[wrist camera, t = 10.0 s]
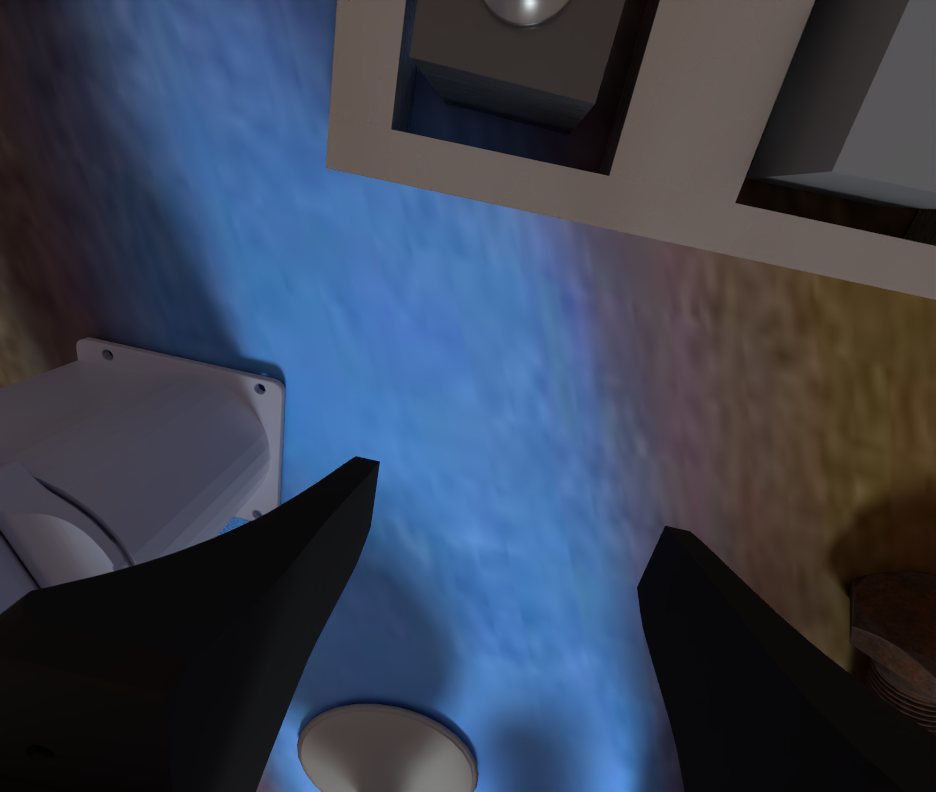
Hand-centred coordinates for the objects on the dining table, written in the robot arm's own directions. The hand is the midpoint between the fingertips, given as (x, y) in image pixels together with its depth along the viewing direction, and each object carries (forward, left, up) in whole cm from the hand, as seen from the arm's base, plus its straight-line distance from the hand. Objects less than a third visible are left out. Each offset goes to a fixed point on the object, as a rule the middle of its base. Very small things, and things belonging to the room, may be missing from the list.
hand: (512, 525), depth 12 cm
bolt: (+22, -12, -10) cm, 27 cm away
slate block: (+8, +12, -10) cm, 18 cm away
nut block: (-2, +12, -10) cm, 16 cm away
